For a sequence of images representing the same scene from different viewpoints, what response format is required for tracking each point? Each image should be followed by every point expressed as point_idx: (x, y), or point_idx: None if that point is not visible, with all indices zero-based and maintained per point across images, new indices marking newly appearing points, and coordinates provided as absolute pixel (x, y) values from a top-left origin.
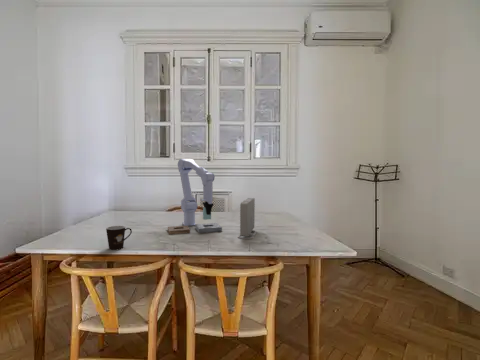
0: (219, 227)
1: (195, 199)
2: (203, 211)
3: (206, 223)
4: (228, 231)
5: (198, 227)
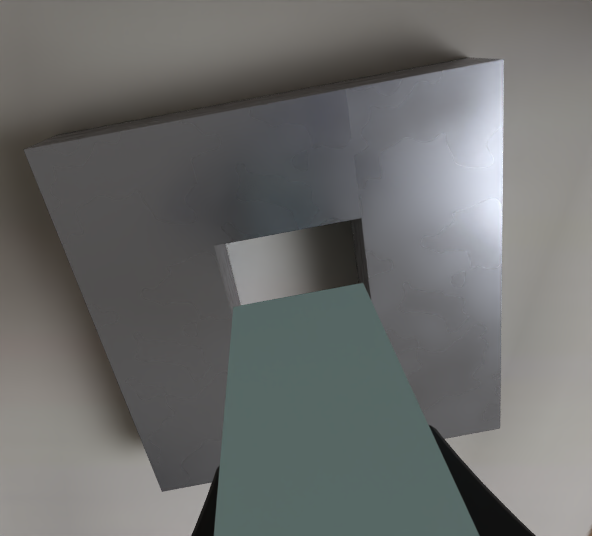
0: (151, 464)
1: None
2: (294, 446)
3: (499, 283)
4: (169, 506)
5: (150, 140)
